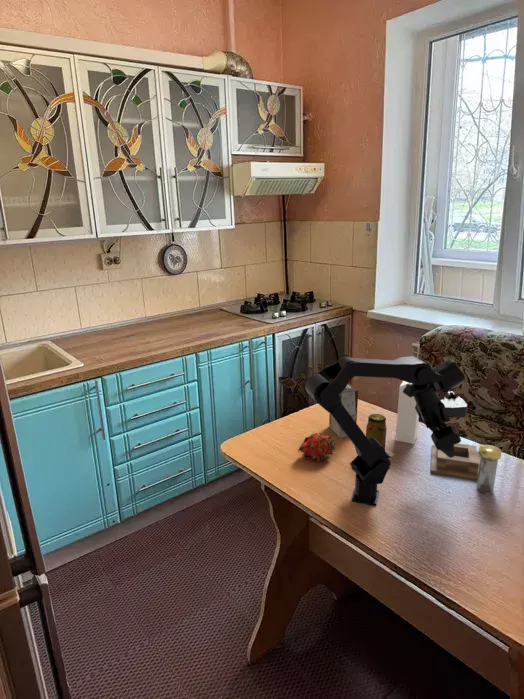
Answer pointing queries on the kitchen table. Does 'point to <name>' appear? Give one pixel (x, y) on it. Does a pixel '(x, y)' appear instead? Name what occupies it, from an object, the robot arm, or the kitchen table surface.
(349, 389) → the coffee box
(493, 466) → the pin
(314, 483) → the kitchen table surface
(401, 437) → the milk
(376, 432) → the condiment
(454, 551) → the kitchen table surface
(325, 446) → the dragon fruit
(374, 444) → the robot arm
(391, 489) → the kitchen table surface
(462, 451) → the block
